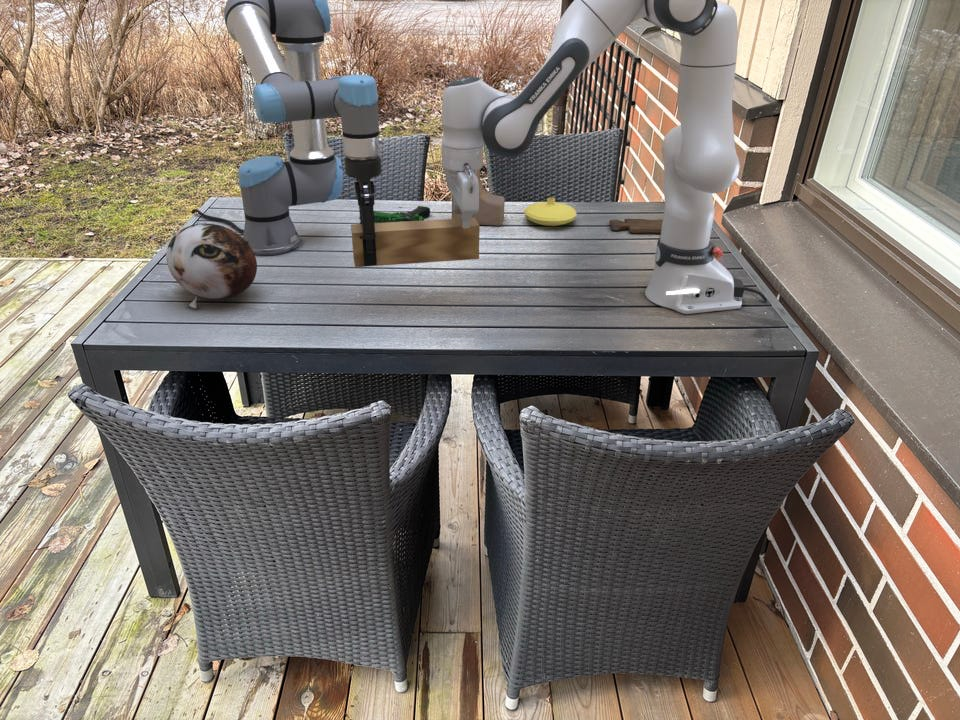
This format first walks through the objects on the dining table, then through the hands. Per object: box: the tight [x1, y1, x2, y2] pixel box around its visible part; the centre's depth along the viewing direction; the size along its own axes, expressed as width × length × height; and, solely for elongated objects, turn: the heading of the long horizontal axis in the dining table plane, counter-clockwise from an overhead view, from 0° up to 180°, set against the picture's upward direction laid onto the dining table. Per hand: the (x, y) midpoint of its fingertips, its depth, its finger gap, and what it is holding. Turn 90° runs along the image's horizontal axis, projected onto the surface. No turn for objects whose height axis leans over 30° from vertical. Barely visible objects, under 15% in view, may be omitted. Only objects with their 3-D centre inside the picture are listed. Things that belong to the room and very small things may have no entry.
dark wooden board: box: [608, 218, 663, 234], centre depth 212 cm, size 26×2×10 cm
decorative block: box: [451, 169, 506, 227], centre depth 208 cm, size 8×15×30 cm, turn 82°
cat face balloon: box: [165, 222, 258, 309], centre depth 165 cm, size 22×18×20 cm
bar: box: [350, 218, 480, 268], centre depth 160 cm, size 28×5×8 cm, turn 102°
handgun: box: [374, 205, 431, 223], centre depth 216 cm, size 16×3×15 cm
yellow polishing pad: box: [523, 197, 578, 227], centre depth 214 cm, size 16×16×7 cm
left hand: (369, 259), depth 160 cm, fingers closed on bar, 5 cm apart
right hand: (461, 220), depth 160 cm, fingers open, 8 cm apart
